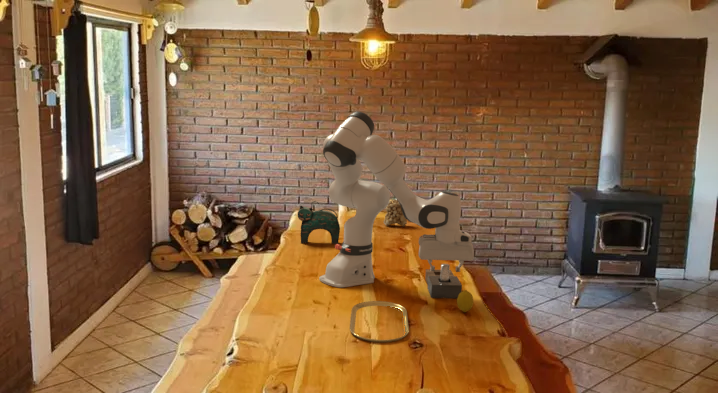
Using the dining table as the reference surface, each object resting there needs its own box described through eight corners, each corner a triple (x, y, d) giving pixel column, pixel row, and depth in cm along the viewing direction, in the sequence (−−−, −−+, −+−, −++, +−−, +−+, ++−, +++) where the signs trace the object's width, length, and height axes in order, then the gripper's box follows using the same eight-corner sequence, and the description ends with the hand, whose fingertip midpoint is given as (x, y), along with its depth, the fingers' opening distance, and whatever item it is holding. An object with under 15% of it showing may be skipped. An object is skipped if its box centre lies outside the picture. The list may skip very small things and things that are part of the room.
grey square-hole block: (461, 298, 251) (461, 285, 250) (431, 297, 250) (431, 284, 249) (456, 288, 261) (456, 276, 260) (427, 288, 261) (428, 275, 260)
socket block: (454, 287, 263) (454, 277, 262) (428, 287, 263) (428, 276, 262) (450, 279, 273) (450, 269, 272) (425, 279, 272) (425, 269, 272)
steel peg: (444, 295, 254) (445, 266, 252) (437, 292, 256) (439, 264, 254) (449, 293, 256) (451, 265, 254) (443, 291, 258) (445, 263, 256)
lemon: (470, 309, 239) (472, 287, 238) (473, 315, 234) (475, 292, 232) (455, 309, 239) (456, 287, 238) (457, 315, 234) (459, 292, 232)
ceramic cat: (297, 243, 320) (297, 201, 316) (297, 240, 326) (298, 199, 322) (339, 244, 320) (340, 203, 317) (339, 241, 327) (340, 200, 323)
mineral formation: (382, 224, 365) (383, 196, 363) (407, 224, 366) (408, 197, 364) (384, 227, 358) (385, 199, 355) (409, 228, 358) (410, 200, 356)
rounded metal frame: (348, 343, 208) (348, 338, 208) (352, 304, 242) (352, 299, 242) (409, 346, 207) (410, 341, 207) (405, 306, 242) (405, 302, 242)
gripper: (420, 236, 248) (418, 273, 251) (476, 237, 249) (473, 274, 251) (418, 232, 254) (416, 268, 257) (472, 233, 255) (470, 269, 258)
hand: (445, 271), depth 254 cm, fingers open, 8 cm apart
